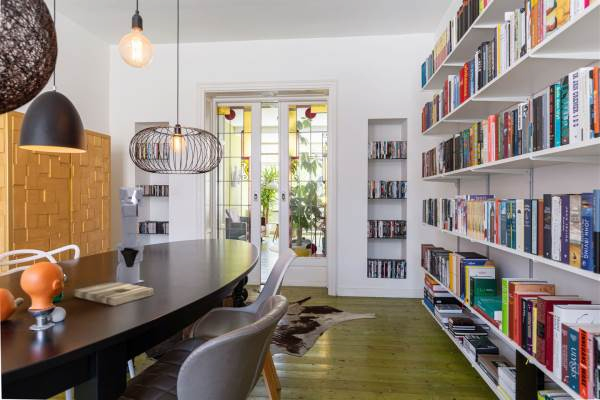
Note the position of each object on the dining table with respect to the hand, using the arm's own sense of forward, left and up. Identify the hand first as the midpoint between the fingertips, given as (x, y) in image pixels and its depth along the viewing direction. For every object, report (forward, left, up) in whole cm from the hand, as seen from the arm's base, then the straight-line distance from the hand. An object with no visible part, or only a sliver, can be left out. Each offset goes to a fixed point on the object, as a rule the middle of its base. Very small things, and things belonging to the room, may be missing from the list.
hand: (129, 267), depth 143 cm
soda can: (-10, -23, -10) cm, 27 cm away
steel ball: (-40, -5, -8) cm, 41 cm away
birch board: (+2, -8, -9) cm, 13 cm away
